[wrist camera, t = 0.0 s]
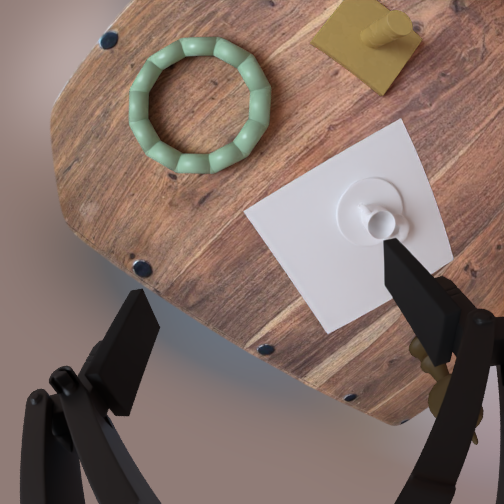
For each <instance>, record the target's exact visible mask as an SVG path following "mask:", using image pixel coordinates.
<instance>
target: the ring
mask: <svg viewBox="0 0 504 504" xmlns="http://www.w3.org/2000/svg"><path fill="white" fill-rule="evenodd" d="M186 56H215V57H217V58H219V59H221V60H223V61H225V62H226V63H228V64H230V65H232V66H234V67H235V68H237V69H238V71H239V72H240V74H241V76H242V78H243V80H244V81H245V83H246V85H247V87H248V89H249V91H250V104H249V119H248V120H247V122H246V123H245V125H244V126H243V128H242V129H241V131H240V132H239V134H238V135H237V137H236V138H235V140H234V141H233V142H231V143H229V144H227V145H225V146H223V147H221V148H219V149H218V150H216V151H214V152H212V153H210V154H183V153H181V152H179V151H178V150H176V149H174V148H173V147H171V146H169V145H167V144H166V143H164V142H162V141H161V140H160V139H159V137H158V135H157V133H156V132H155V130H154V128H153V126H152V124H151V123H150V121H149V119H148V107H149V92H150V90H151V88H152V87H153V85H154V83H155V82H156V80H157V79H158V77H159V75H160V74H161V72H162V70H164V69H165V68H167V67H169V66H170V65H172V64H174V63H176V62H177V61H179V60H181V59H183V58H184V57H186ZM270 106H271V86H270V84H269V82H268V80H267V78H266V76H265V75H264V73H263V71H262V69H261V67H260V66H259V64H258V62H257V60H256V58H255V57H254V56H253V55H252V54H251V53H249V52H247V51H246V50H244V49H242V48H240V47H238V46H237V45H235V44H233V43H231V42H229V41H227V40H226V39H224V38H222V37H189V38H181V39H179V40H177V41H175V42H173V43H172V44H170V45H168V46H166V47H165V48H163V49H161V50H160V51H158V52H156V53H155V54H153V55H151V56H150V57H149V58H148V59H147V60H146V62H145V64H144V65H143V67H142V69H141V70H140V72H139V74H138V75H137V77H136V79H135V80H134V82H133V84H132V86H131V88H130V91H129V126H130V128H131V130H132V131H133V133H134V135H135V137H136V139H137V140H138V142H139V144H140V146H141V147H142V149H143V151H144V153H145V154H146V155H147V156H148V157H150V158H152V159H153V160H155V161H157V162H159V163H160V164H162V165H164V166H165V167H167V168H169V169H170V170H172V171H174V172H176V173H196V174H214V173H217V172H219V171H221V170H223V169H224V168H226V167H228V166H230V165H232V164H234V163H236V162H238V161H240V160H242V159H244V158H246V157H247V156H248V155H249V154H250V153H251V151H252V150H253V148H254V147H255V145H256V144H257V142H258V141H259V139H260V138H261V136H262V135H263V134H264V132H265V131H266V129H267V128H268V126H269V122H270Z"/></svg>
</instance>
